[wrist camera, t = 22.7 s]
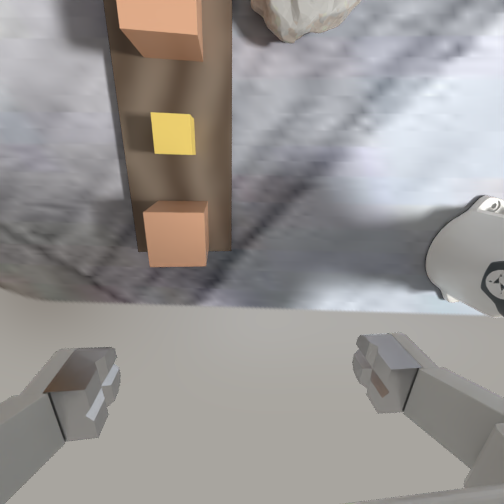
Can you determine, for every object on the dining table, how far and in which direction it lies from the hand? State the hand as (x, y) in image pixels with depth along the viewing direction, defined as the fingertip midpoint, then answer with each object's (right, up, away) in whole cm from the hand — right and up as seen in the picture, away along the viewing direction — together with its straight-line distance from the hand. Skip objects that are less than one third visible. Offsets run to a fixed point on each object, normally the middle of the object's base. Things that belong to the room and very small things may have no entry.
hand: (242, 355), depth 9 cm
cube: (-9, +18, +22) cm, 30 cm away
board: (-9, +19, +23) cm, 31 cm away
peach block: (-8, +28, +18) cm, 34 cm away
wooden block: (-9, +7, +26) cm, 29 cm away
